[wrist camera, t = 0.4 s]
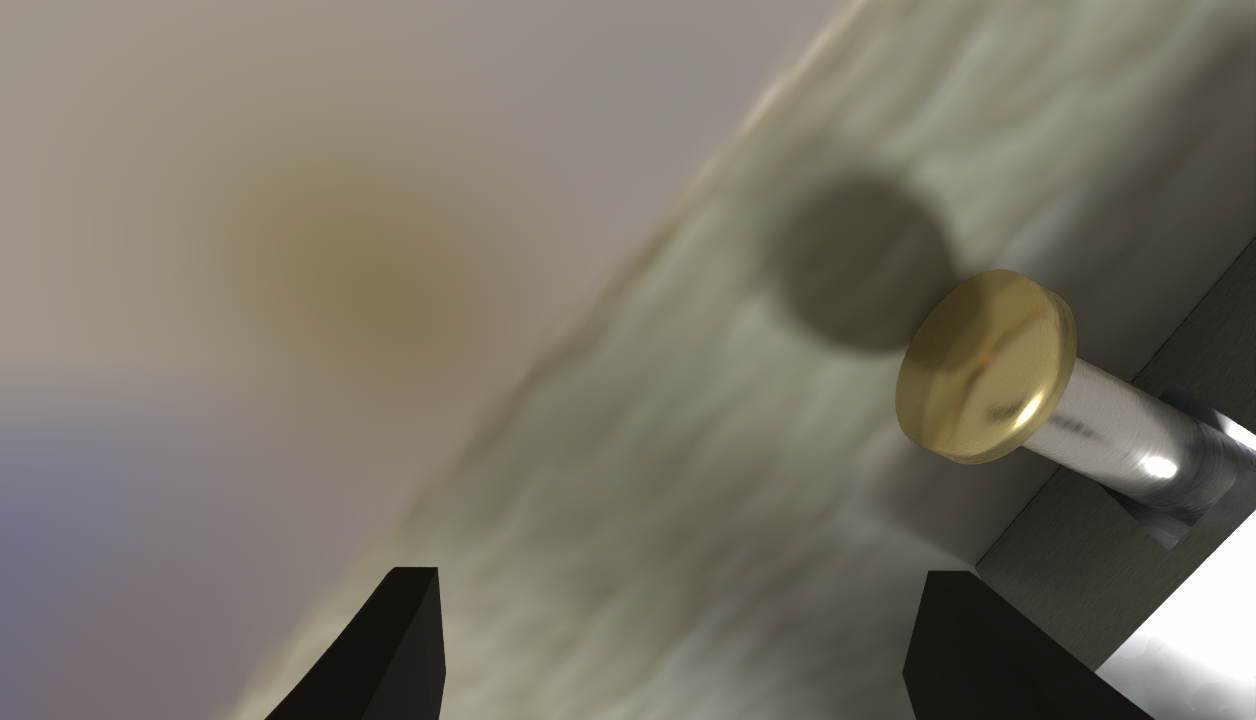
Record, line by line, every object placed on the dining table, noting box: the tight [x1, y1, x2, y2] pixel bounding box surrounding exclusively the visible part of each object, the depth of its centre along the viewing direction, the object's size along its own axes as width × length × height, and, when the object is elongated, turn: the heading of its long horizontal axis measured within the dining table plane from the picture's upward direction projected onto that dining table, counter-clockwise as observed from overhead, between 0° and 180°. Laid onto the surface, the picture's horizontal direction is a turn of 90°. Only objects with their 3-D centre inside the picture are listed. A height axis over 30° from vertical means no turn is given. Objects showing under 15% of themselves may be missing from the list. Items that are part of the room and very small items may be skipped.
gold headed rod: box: [895, 270, 1256, 527], centre depth 19 cm, size 10×4×4 cm, turn 63°
